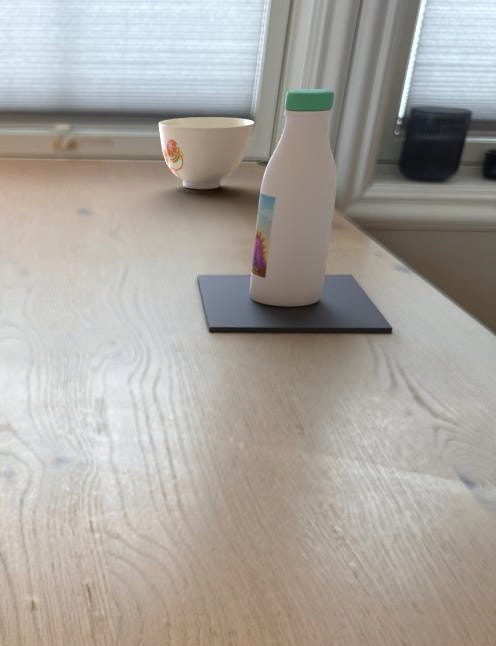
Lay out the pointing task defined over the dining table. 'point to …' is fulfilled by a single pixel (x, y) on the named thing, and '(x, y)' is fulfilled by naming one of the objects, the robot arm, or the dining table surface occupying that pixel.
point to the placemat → (289, 308)
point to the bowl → (204, 148)
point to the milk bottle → (296, 206)
